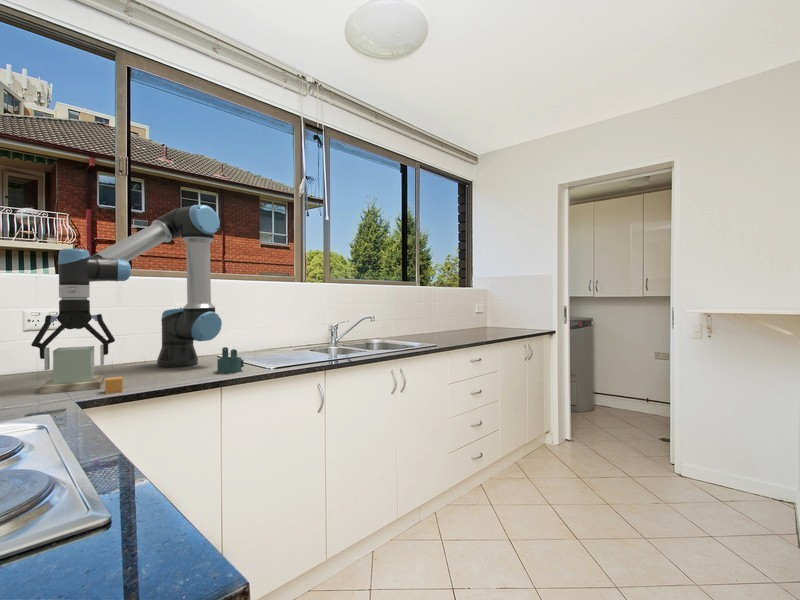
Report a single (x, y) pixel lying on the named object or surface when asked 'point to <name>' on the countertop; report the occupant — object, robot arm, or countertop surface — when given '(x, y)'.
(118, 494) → the countertop surface
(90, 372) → the sage green cube
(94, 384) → the birch board
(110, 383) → the block
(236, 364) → the bracket
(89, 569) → the countertop surface
